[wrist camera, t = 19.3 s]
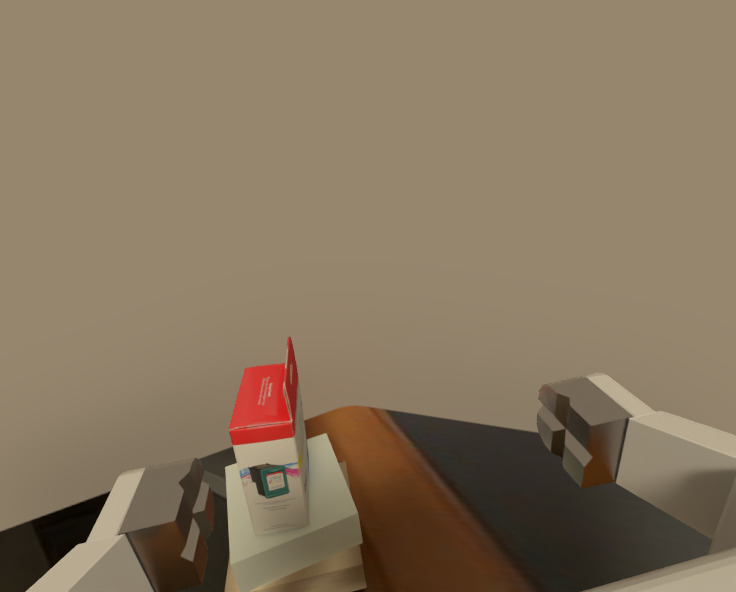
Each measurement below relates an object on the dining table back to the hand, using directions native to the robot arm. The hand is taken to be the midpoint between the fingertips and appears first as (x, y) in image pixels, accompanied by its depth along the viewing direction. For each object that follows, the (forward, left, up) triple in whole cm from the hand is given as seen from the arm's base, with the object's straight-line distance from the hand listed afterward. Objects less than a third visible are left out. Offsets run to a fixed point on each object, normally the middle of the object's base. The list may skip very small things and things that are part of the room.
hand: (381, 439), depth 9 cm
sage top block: (+7, -22, -29) cm, 37 cm away
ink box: (+7, -22, -25) cm, 34 cm away
